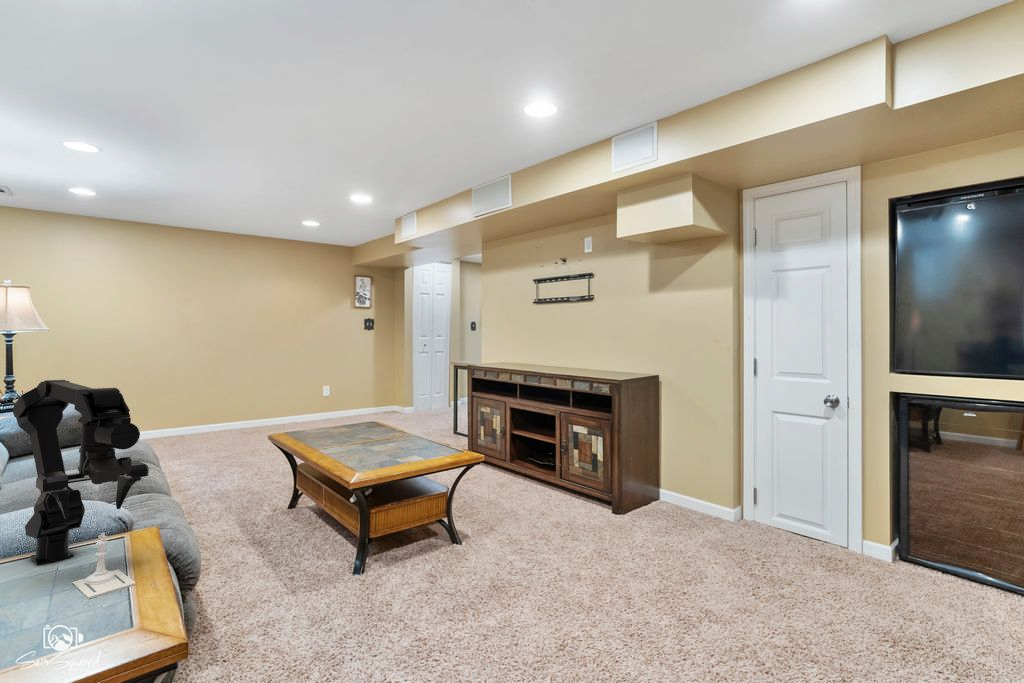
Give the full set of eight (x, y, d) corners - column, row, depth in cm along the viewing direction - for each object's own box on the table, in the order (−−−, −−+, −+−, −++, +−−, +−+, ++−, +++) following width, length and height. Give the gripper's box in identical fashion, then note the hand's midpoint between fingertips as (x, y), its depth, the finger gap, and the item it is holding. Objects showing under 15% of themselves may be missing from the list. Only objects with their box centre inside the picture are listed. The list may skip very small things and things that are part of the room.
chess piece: (97, 586, 104) (100, 538, 104) (78, 583, 105) (81, 535, 105) (120, 576, 109) (123, 530, 109) (102, 572, 110) (104, 527, 110)
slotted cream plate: (72, 583, 106) (72, 581, 106) (118, 571, 112) (118, 569, 112) (88, 599, 100) (88, 597, 100) (135, 584, 107) (135, 582, 107)
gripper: (53, 456, 99) (48, 534, 99) (160, 443, 115) (156, 511, 115) (37, 447, 106) (32, 521, 105) (140, 437, 121) (137, 501, 121)
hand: (93, 513), depth 111 cm, fingers open, 9 cm apart
